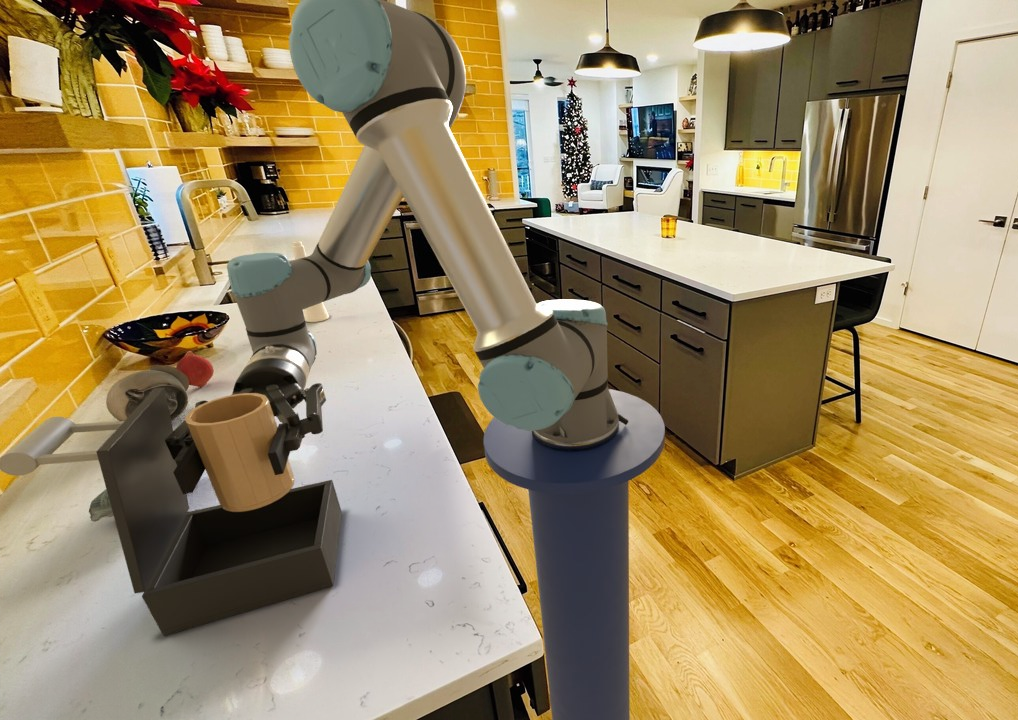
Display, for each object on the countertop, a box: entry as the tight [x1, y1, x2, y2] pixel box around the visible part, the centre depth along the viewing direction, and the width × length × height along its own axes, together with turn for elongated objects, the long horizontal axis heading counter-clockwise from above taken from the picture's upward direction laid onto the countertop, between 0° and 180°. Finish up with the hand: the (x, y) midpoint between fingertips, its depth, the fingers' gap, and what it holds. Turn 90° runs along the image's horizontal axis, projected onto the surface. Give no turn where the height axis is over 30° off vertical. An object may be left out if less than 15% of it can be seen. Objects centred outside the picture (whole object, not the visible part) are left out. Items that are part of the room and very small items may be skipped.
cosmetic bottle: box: [291, 241, 330, 323], centre depth 140 cm, size 6×6×22 cm
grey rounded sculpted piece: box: [105, 364, 190, 422], centre depth 89 cm, size 10×12×10 cm
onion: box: [175, 350, 215, 388], centre depth 103 cm, size 6×6×8 cm
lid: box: [0, 388, 190, 594], centre depth 51 cm, size 16×14×9 cm
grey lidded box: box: [141, 479, 343, 637], centre depth 60 cm, size 16×14×6 cm
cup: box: [184, 393, 295, 512], centre depth 55 cm, size 7×7×11 cm
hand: (230, 472), depth 51 cm, fingers closed on cup, 7 cm apart
